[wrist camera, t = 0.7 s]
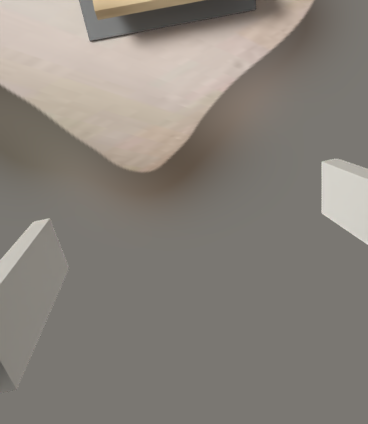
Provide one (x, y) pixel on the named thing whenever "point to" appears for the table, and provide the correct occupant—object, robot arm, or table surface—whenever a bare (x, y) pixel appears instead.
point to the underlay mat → (159, 16)
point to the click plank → (131, 6)
